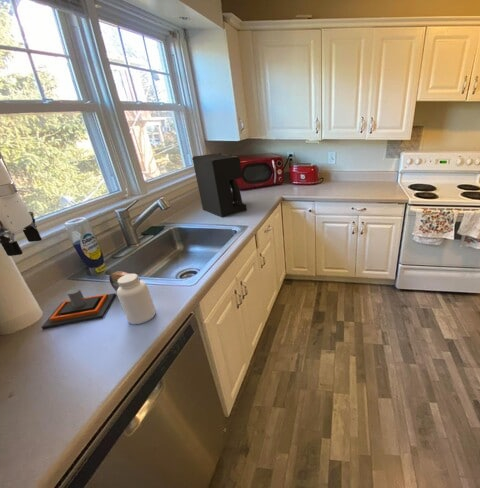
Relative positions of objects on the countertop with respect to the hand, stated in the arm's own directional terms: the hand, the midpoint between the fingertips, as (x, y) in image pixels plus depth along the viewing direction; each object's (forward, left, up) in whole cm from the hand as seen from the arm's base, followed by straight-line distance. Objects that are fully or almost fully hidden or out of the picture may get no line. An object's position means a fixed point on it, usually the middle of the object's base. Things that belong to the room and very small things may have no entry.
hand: (26, 247), depth 83 cm
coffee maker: (+55, +91, -24) cm, 109 cm away
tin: (+20, +4, -24) cm, 32 cm away
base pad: (+7, -2, -24) cm, 25 cm away
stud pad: (+7, -2, -23) cm, 24 cm away
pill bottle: (+27, -12, -24) cm, 38 cm away
